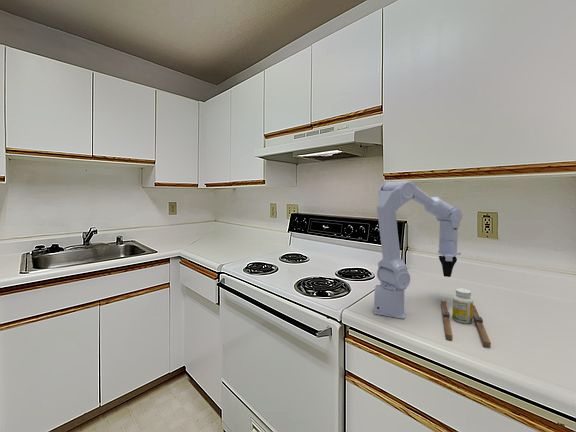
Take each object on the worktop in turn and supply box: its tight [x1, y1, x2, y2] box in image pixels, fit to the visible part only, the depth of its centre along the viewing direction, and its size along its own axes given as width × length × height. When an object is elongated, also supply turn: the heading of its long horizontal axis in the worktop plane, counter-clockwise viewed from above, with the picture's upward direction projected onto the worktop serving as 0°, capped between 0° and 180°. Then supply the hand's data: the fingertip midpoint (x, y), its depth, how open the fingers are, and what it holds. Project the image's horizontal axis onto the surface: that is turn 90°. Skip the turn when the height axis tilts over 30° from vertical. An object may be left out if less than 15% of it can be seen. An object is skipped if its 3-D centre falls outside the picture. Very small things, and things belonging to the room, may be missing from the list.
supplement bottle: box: [452, 287, 474, 325], centre depth 86 cm, size 5×5×10 cm
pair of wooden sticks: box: [440, 300, 492, 349], centre depth 85 cm, size 10×26×2 cm, turn 154°
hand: (447, 276), depth 101 cm, fingers closed
